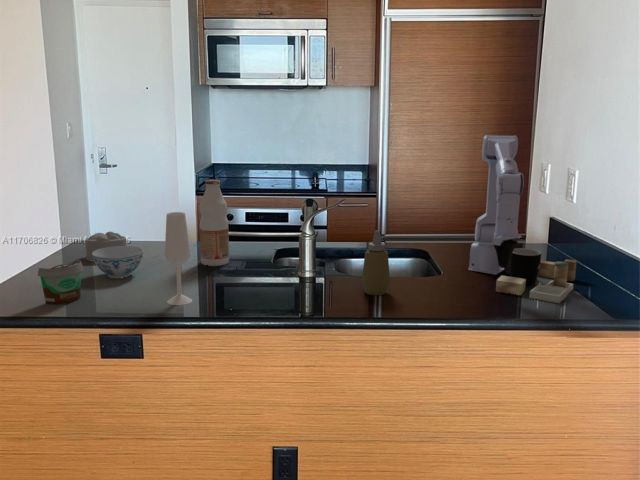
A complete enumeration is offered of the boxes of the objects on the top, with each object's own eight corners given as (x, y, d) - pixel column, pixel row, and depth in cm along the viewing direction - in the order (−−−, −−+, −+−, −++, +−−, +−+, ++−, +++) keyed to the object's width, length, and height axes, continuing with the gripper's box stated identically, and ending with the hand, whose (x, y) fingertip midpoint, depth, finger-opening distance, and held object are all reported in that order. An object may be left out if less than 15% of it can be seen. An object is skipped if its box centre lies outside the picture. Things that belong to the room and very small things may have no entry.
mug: (541, 289, 171) (544, 255, 169) (509, 287, 173) (512, 254, 170) (532, 277, 183) (535, 246, 181) (502, 276, 184) (505, 245, 182)
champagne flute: (171, 297, 161) (166, 211, 156) (195, 297, 161) (191, 211, 156) (163, 304, 155) (159, 215, 150) (189, 305, 155) (185, 216, 149)
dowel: (551, 289, 171) (553, 263, 169) (554, 286, 174) (557, 260, 172) (563, 292, 169) (566, 265, 167) (567, 289, 172) (569, 262, 170)
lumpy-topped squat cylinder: (96, 254, 208) (94, 230, 207) (132, 254, 208) (130, 231, 206) (83, 261, 198) (81, 236, 196) (121, 262, 198) (119, 237, 196)
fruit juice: (201, 267, 192) (198, 182, 186) (200, 260, 201) (197, 178, 195) (230, 265, 194) (228, 181, 188) (228, 258, 203) (226, 178, 197)
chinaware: (105, 285, 171) (103, 260, 170) (86, 274, 182) (84, 250, 181) (153, 276, 181) (151, 252, 179) (132, 266, 192) (131, 243, 190)
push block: (495, 292, 169) (496, 280, 168) (500, 287, 174) (501, 275, 173) (520, 296, 166) (521, 284, 165) (525, 290, 171) (526, 278, 170)
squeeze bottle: (392, 290, 169) (394, 229, 165) (386, 298, 162) (388, 234, 158) (365, 287, 172) (366, 227, 168) (357, 295, 164) (359, 232, 160)
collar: (545, 289, 171) (545, 285, 170) (551, 285, 176) (551, 280, 175) (567, 293, 167) (568, 288, 167) (573, 288, 172) (573, 283, 172)
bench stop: (516, 272, 189) (518, 254, 188) (519, 270, 192) (521, 252, 190) (572, 281, 179) (574, 262, 178) (574, 279, 182) (576, 260, 181)
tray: (529, 297, 163) (529, 290, 163) (537, 290, 170) (538, 284, 169) (559, 303, 159) (559, 296, 158) (566, 296, 165) (567, 289, 165)
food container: (54, 309, 151) (51, 271, 149) (40, 304, 154) (36, 268, 152) (95, 296, 161) (92, 261, 159) (81, 292, 164) (78, 258, 162)
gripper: (512, 223, 151) (508, 274, 154) (530, 215, 162) (526, 263, 165) (486, 220, 155) (482, 269, 158) (505, 213, 166) (501, 259, 169)
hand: (503, 266), depth 162 cm, fingers closed
